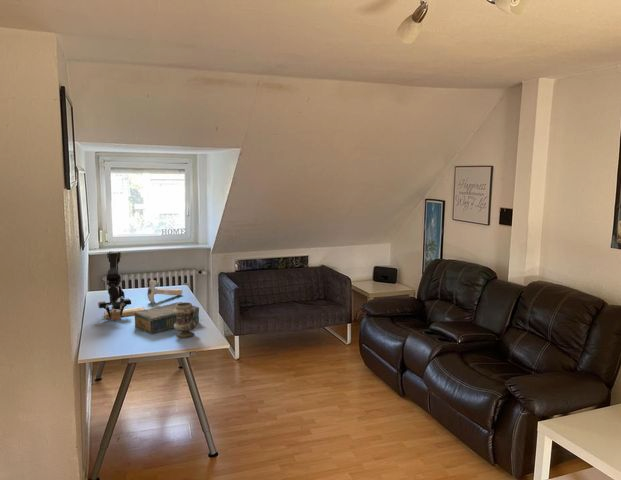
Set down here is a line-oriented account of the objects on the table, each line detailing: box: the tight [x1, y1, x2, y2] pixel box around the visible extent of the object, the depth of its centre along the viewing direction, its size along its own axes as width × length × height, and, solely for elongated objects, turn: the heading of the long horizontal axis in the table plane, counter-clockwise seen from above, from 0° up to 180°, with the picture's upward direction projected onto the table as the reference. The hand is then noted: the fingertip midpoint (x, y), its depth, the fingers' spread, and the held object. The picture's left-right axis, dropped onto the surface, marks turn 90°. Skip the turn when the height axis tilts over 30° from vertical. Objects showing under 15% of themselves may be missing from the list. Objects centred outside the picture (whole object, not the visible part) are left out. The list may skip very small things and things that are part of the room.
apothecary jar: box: [173, 301, 197, 339], centre depth 272 cm, size 12×12×18 cm
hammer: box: [146, 279, 183, 304], centre depth 354 cm, size 16×5×30 cm
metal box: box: [134, 301, 200, 335], centre depth 292 cm, size 21×32×10 cm, turn 137°
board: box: [103, 306, 146, 319], centre depth 315 cm, size 7×24×3 cm, turn 122°
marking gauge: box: [110, 308, 121, 321], centre depth 307 cm, size 10×5×6 cm, turn 32°
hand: (115, 316), depth 306 cm, fingers open, 6 cm apart
